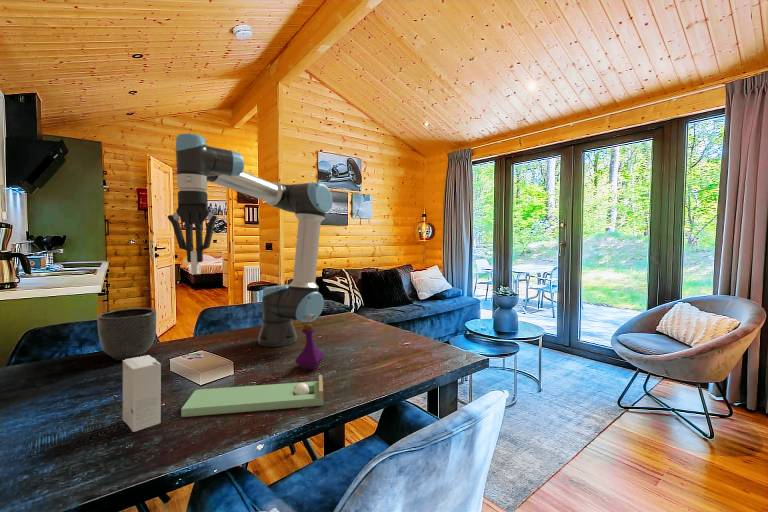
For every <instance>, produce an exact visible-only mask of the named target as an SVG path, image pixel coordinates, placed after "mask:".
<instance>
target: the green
mask: <svg viewBox="0 0 768 512" xmlns="http://www.w3.org/2000/svg"><path fill="white" fill-rule="evenodd" d="M323 381H324V379H323V374H318V380H317V381H316V380H315V381H303V382H287V383H275V384H273V383H271V384H262V385H261V384H259V385H246V386H244V385H243V386H233V387H232V386H231V387H219V388H218V387H217V388H203V389H195V390H194V391H193V392H192V393H191V395H190V396H189V398H188V399H187V401H186V402H185V404H183V406H182V407H181V409H180V415H181V416H180V417H181V418H187V417H198V416H208V415H209V416H210V415H211V416H212V415H222V414H233V413H246V412H259V411H260V412H261V411H271V410H279V409H280V410H281V409H282V410H283V409H293V408H294V409H295V408H307V407H319V406H324V385H323ZM300 383H305V384H307V385H308V387H309V394H306V395H295V394H294V389H295V387H296V386H297V385H298V384H300Z"/></svg>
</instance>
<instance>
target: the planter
mask: <svg viewBox="0 0 768 512" xmlns="http://www.w3.org/2000/svg"><path fill="white" fill-rule="evenodd" d="M96 321H97V333H98V338H99V339H98V340H99V343H100V346H101V348H102V350H103V352H104V353H105V354H107V355H108V356H110V357H112V358H113V360H114V359H117V360H123V359H130V358H135V357H139V356H141V355H143V354H144V355H146V352H147V351H148V350H149V349H151V347H152V346H153V345H154V341H155V339H156V335H157V334H156V333H157V323H158V322H157V321H158V320H157V309H154V308H151V307H149V308H148V307H145V308H144V307H137V308H124V309H123V308H122V309H117V310H111V311H107V312H102V313H100V314H98V315H97V319H96ZM144 355H143V356H144ZM117 360H116V361H117Z"/></svg>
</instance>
